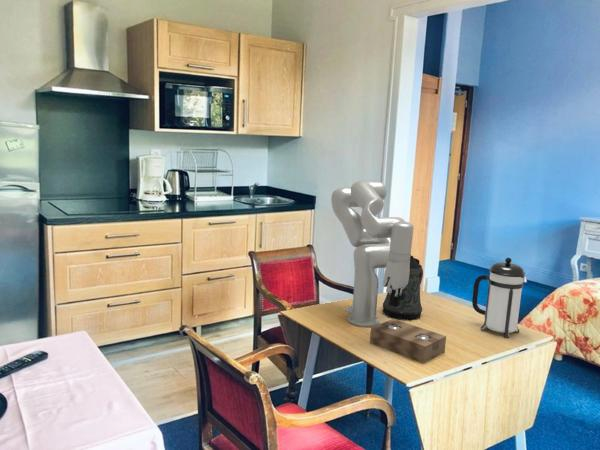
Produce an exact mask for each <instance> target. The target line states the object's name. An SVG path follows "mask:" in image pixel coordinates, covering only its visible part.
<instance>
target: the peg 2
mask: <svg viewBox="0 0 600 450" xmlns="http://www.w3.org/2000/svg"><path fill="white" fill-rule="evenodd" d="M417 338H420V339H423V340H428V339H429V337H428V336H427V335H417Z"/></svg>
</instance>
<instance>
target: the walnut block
mask: <svg viewBox="0 0 600 450" xmlns="http://www.w3.org/2000/svg"><path fill="white" fill-rule="evenodd" d="M389 325H397V326H399V329H397V330H394V329H391V328H388V326H389ZM417 335H427V336H428V337H429V339H428V340H423V339H420V338H417ZM446 340H447V335H443V334H441V333H439V332H436V331H435V332H434V331H431V330H429V329H426V328H423V327H421V326H417V325H413V324H411V323H407V322H404V321H403V320H398V319H394V318H391V319H389V320H386V321H384V322H382V323H379V324H378V325H376V326H371V327H370V338H369V343H370V345H373V346H377V347H379V348H382V349H385V350H387V351H390V352H392V353H395V354H397V355H400V356H403V357H405V358H408V359H411V360H413V361H416V362H419V363H421V364H423V365H424V364H426V363H427V362H429V361H431V360H433V359H435V358H436V357H439V356H441V355H442V354H444V353H445V352H446V342H447V341H446Z"/></svg>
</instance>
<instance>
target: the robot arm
mask: <svg viewBox="0 0 600 450" xmlns="http://www.w3.org/2000/svg"><path fill="white" fill-rule="evenodd" d="M387 192H388V191H387V188H386V185H385V184H384V183H383V182H382V181H379V180H357V181H355V182H354V183H353V184H352V185H351V186H344V187H338V188H336V189H334V190H333V191H332V192H331V196H330V197H331V199H330V201H331V202H330V203H331V207H332V210H333V213H334V214H335V217H336V218H337V219H338V221H339V222H340V223H341V225H342V227H343V230H344V231H345V234H346V236H347V238H348V241H349V242H350V244H351V246H353V247H355V249H354V251H353V263H354V278H353V279H354V282H353V298H352V306H351V305H347V306H346V308H345V312H347V313H349V315H348V317H347V321H348V322H349V323H350V324H352V325H354V326H359V327H365V328H366V327H369V328H371V327H373V326H376V325H378V324H380V318H378V317H377V307H378V306H377V305H378V293H379V277H378V274H377V273H376V272H375V269H383V268H385V269H384V273H383V274H384V275H383V280H382V285H383V287H384V288H386V290H385V292H386V293H387V292H388V293H390V303H389V304H390V305H391V306H394V307H397V306H399V303H400V296H399V295H401V293H402V290H403V289H404V288H405V287H406V285H407V284H408V281H409V272H410V256H412V254H411V253H412V245H413V238H414V235H413V234H414V229H415V228H414V225H413V223H410V222H409V221H405V220H404V218H402V217H400V216H399V217H398V216H394V217H393V216H378V215H379V214H380V213H381V212H382V211H383V209H384V206H385V202H384V200H385V199H386V197H387ZM354 208H360V209H361V214H359V212H357V210H355V209H354ZM376 216H377V217H376Z"/></svg>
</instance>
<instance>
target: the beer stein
mask: <svg viewBox="0 0 600 450" xmlns="http://www.w3.org/2000/svg"><path fill="white" fill-rule="evenodd" d="M422 266H423V265H421V263H420V259H418V258H415V256H413V255H411V256H410V272H409V281H408V284H407V285H406V287H405V288H404V289H403V290H402V293H401V295H399V296H400V303H399V306H397V307H394V306H391V305H390V304H389V303H390V293H388V292H386V295H385V298H384V301H383V303H382V312H383V314H384V315H385V316H387V317H389V318H391V319H396V320H399V321H414V320H418V319H419V318H421V314H422V312H423V307H422V303H421V284H422V283H423V277H424V270H423V267H422Z"/></svg>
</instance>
